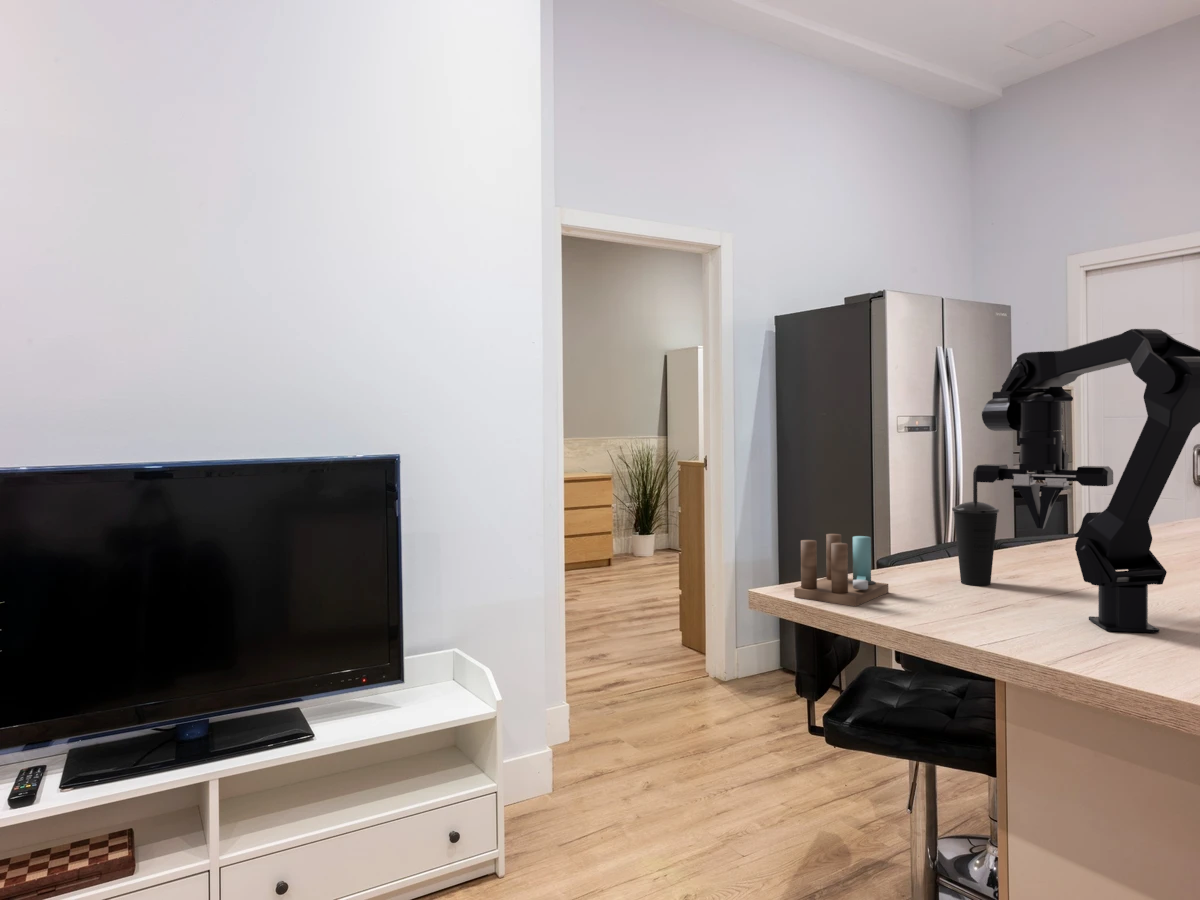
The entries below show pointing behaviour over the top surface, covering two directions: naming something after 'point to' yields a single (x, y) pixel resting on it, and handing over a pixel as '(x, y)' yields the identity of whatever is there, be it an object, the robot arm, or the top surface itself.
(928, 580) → the top surface
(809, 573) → the brown peg stand
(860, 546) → the hinged leg
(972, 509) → the drinking cup
